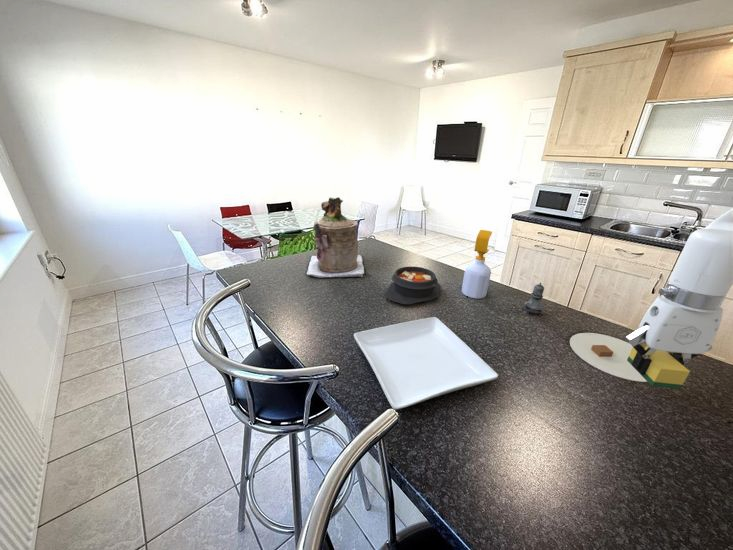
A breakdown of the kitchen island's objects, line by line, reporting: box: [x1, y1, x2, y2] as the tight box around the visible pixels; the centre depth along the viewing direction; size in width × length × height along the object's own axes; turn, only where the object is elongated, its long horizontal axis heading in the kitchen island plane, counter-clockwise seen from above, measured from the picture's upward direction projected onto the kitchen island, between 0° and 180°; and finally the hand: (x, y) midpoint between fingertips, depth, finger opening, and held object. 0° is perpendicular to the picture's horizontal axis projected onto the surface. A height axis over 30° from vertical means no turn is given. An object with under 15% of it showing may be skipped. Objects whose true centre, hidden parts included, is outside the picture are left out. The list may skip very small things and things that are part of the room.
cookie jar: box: [306, 196, 365, 279], centre depth 127 cm, size 25×25×32 cm
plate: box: [569, 332, 648, 383], centre depth 79 cm, size 20×20×1 cm
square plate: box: [353, 316, 499, 410], centre depth 75 cm, size 27×27×4 cm
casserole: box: [384, 265, 441, 305], centre depth 110 cm, size 25×19×8 cm
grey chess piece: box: [522, 282, 545, 315], centre depth 97 cm, size 6×6×12 cm
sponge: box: [627, 345, 691, 390], centre depth 62 cm, size 5×8×5 cm, turn 171°
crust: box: [591, 345, 613, 357], centre depth 79 cm, size 4×3×2 cm
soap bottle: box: [461, 229, 493, 300], centre depth 108 cm, size 9×9×25 cm
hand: (653, 370), depth 62 cm, fingers closed on sponge, 5 cm apart
